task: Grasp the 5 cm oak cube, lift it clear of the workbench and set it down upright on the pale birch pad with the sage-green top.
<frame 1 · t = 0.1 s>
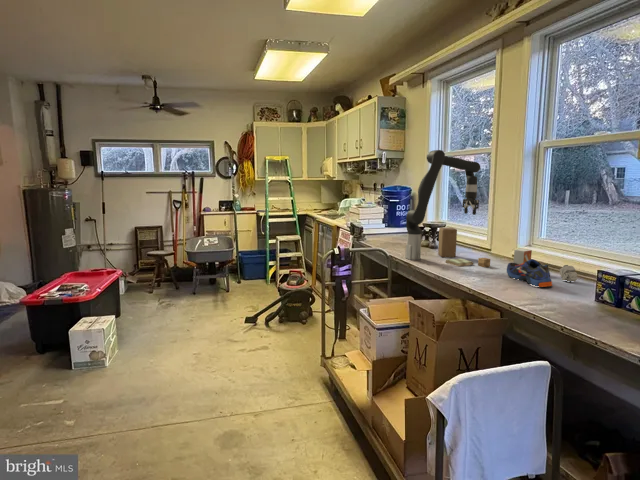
hand: (469, 214, 293), 29 cm above the workbench, fingers open, 8 cm apart
beige lumpy piece: (568, 281, 222), on the workbench
small box: (521, 271, 246), on the workbench
pad: (459, 263, 267), on the workbench
running shoe: (528, 281, 223), on the workbench
oak cube: (483, 266, 260), on the workbench
wooden block: (446, 256, 292), on the workbench
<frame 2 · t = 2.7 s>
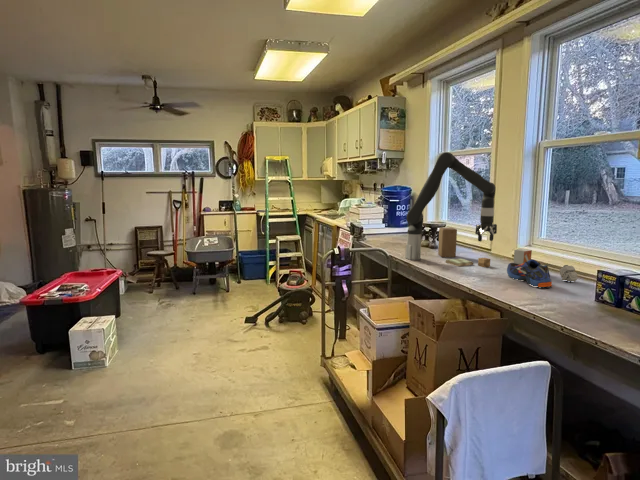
hand: (485, 241, 257), 16 cm above the workbench, fingers open, 8 cm apart
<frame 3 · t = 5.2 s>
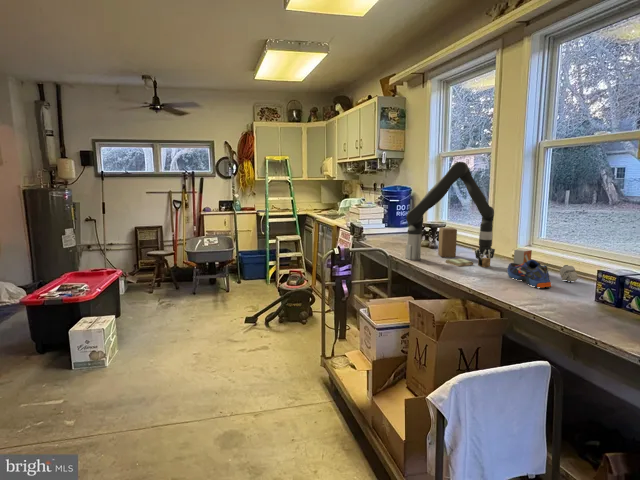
hand: (484, 265, 260), 1 cm above the workbench, fingers closed on oak cube, 5 cm apart
oak cube: (483, 266, 260), on the workbench, touching gripper
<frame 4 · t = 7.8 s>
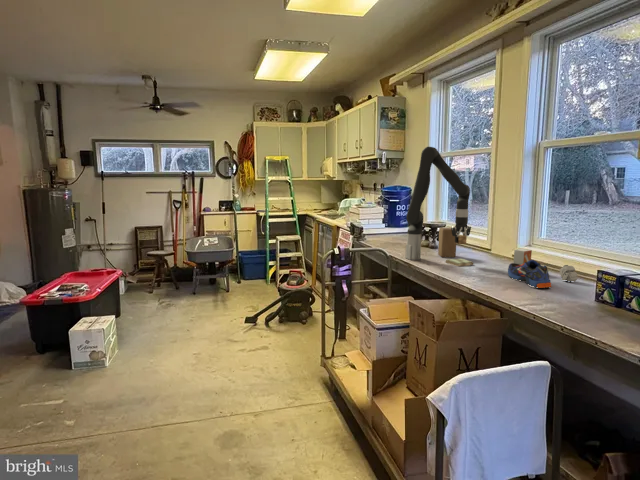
hand: (460, 242, 265), 14 cm above the workbench, fingers closed on oak cube, 5 cm apart
oak cube: (460, 243, 265), point 13 cm above the workbench, touching gripper
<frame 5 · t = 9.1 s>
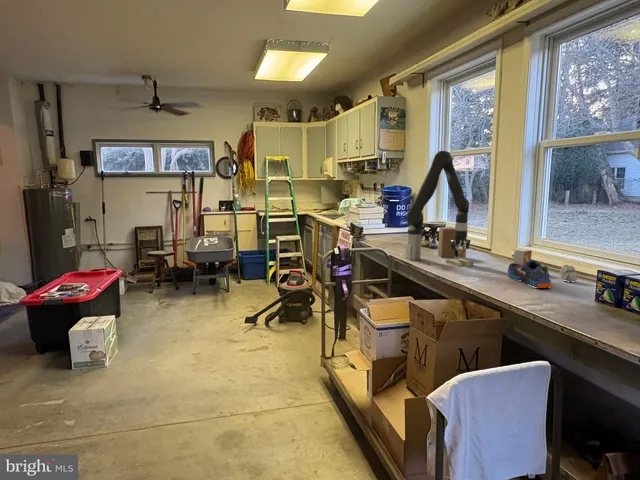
hand: (459, 255, 266), 5 cm above the workbench, fingers closed on oak cube, 5 cm apart
oak cube: (459, 256, 266), point 5 cm above the workbench, touching gripper
when the fingers open (4 cm above the workbench, at t = 10.4 s): oak cube stays where it is, resting on pad.
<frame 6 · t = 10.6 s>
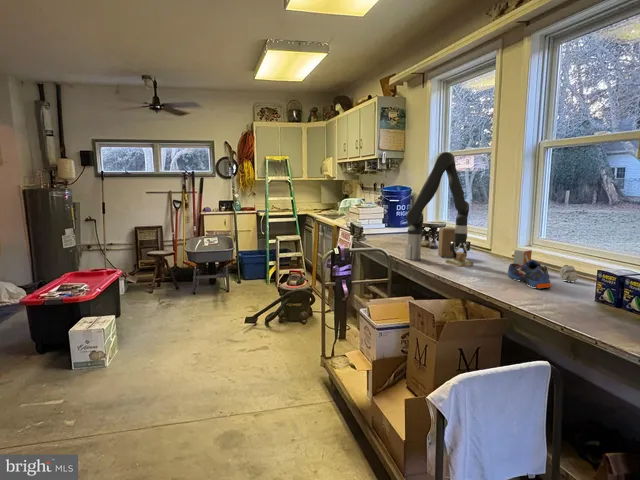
hand: (459, 257, 266), 4 cm above the workbench, fingers open, 7 cm apart
oak cube: (459, 260, 266), point 2 cm above the workbench, touching pad
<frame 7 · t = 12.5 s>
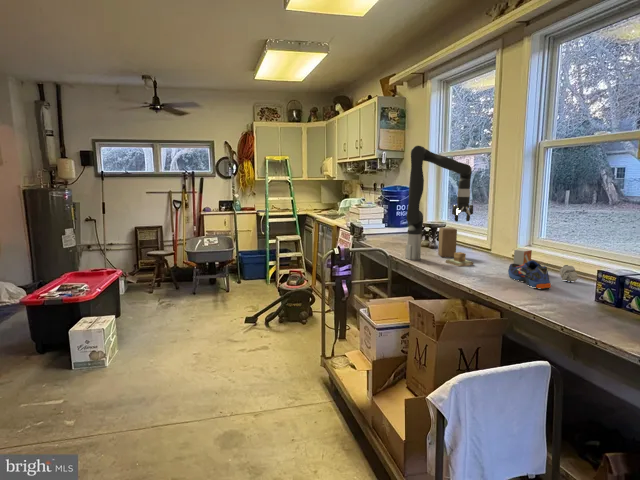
hand: (462, 221, 266), 27 cm above the workbench, fingers open, 8 cm apart
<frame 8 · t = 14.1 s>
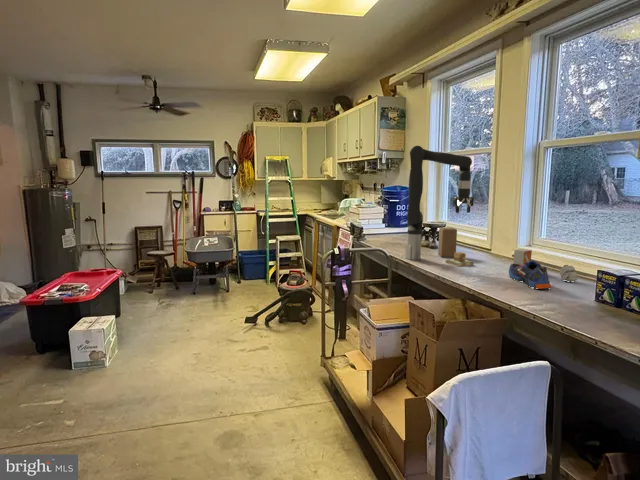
hand: (462, 212, 272), 32 cm above the workbench, fingers open, 8 cm apart
at the end: oak cube inside the target area on the pad (0.0 cm from its centre), point 2.0 cm above the pad's base; oak cube tilted 0°; the gripper is holding nothing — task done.
